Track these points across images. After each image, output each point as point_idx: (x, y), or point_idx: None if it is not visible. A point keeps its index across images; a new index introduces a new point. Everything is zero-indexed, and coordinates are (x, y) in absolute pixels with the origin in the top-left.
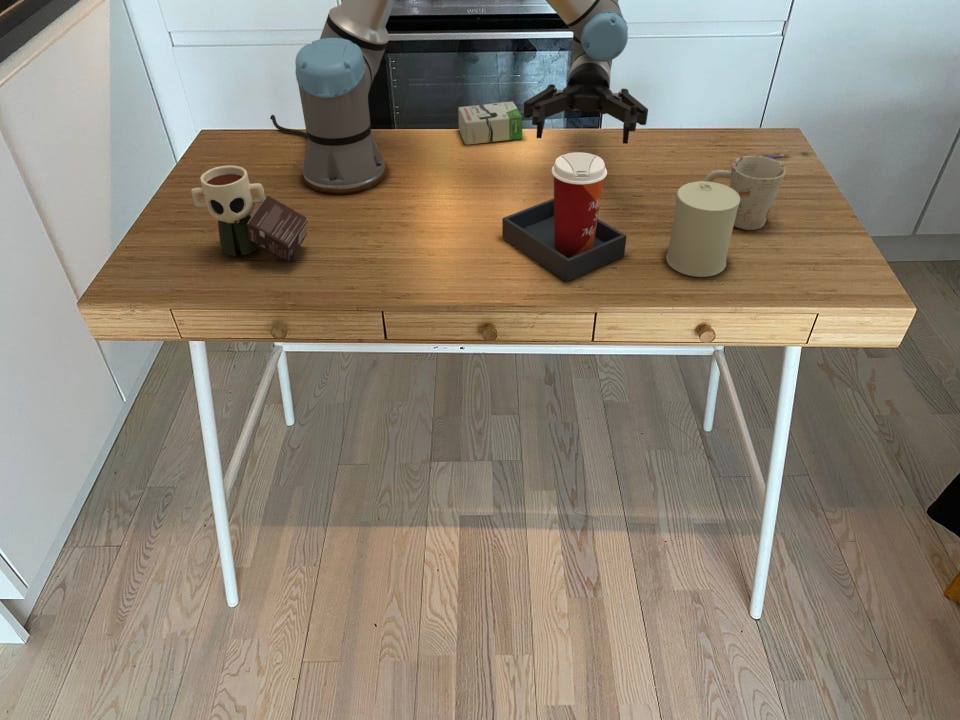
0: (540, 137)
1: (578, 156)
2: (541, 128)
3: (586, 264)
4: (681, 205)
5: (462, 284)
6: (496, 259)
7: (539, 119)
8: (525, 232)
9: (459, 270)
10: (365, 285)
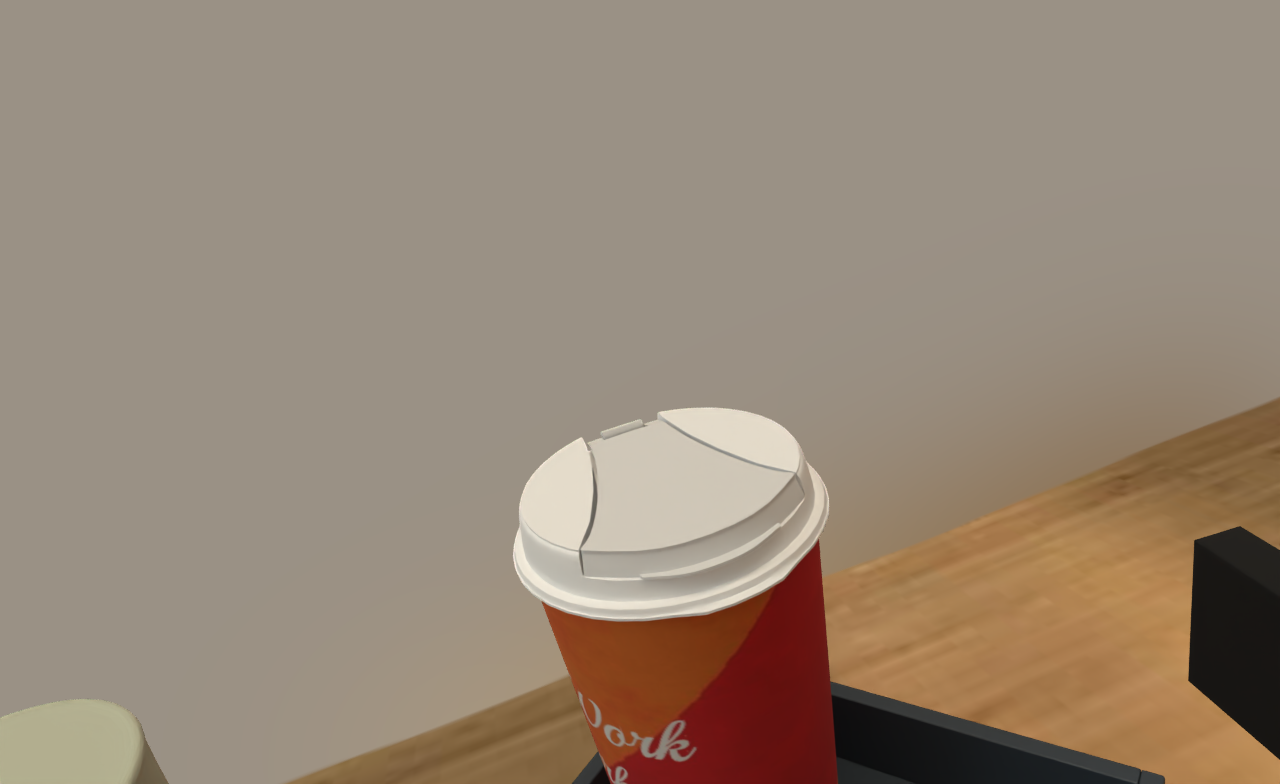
0: (1193, 669)
1: (688, 503)
2: (1195, 599)
3: None
4: (148, 746)
5: (1019, 575)
6: (1034, 718)
7: (1275, 562)
8: (954, 720)
9: (1095, 616)
10: (1266, 469)
